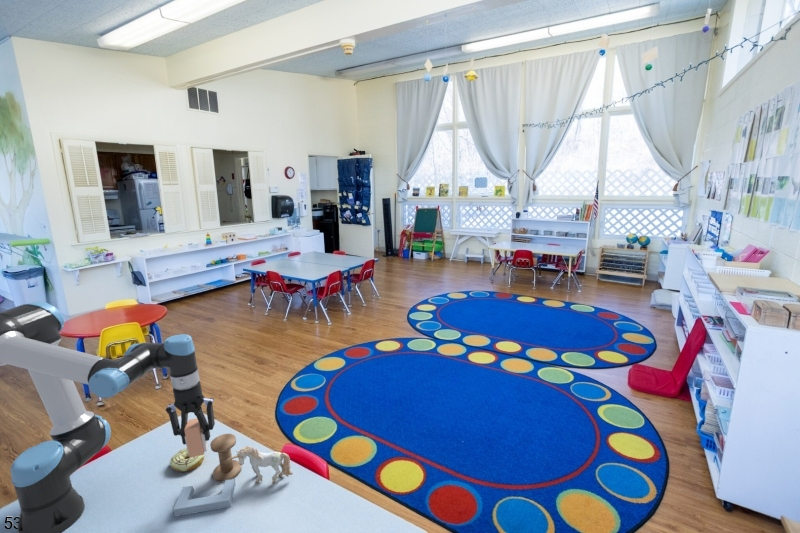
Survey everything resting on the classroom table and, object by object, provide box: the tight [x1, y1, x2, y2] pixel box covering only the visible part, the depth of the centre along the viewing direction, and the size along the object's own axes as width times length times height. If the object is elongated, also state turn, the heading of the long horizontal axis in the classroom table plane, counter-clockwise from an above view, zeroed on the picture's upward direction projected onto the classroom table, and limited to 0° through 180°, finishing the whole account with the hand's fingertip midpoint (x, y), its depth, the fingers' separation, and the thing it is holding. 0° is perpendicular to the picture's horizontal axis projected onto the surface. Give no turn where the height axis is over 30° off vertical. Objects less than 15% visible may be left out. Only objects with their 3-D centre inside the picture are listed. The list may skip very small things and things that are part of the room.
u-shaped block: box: [173, 478, 237, 517], centre depth 125 cm, size 16×9×2 cm, turn 102°
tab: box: [184, 418, 205, 457], centre depth 125 cm, size 4×5×10 cm
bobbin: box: [209, 433, 242, 483], centre depth 136 cm, size 9×9×12 cm
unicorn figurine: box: [227, 445, 294, 484], centre depth 132 cm, size 7×20×13 cm, turn 107°
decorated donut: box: [169, 447, 205, 473], centre depth 142 cm, size 10×11×4 cm
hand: (198, 450), depth 126 cm, fingers closed on tab, 4 cm apart
